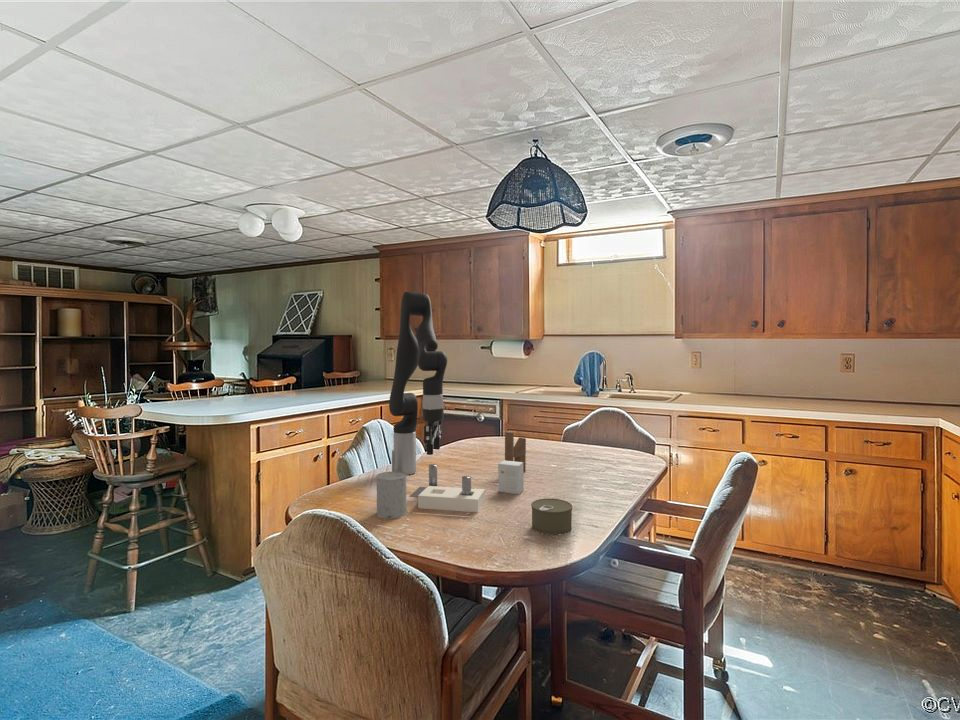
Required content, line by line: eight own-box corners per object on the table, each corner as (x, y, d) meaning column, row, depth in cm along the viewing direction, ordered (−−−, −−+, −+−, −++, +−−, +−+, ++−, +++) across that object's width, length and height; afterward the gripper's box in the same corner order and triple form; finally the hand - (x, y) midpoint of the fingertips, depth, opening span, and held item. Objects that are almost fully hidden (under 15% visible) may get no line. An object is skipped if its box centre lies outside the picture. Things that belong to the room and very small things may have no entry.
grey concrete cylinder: (392, 521, 152) (392, 481, 151) (370, 515, 157) (369, 476, 156) (413, 511, 160) (412, 474, 159) (390, 506, 165) (390, 469, 164)
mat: (409, 497, 174) (409, 496, 174) (419, 487, 186) (419, 486, 186) (447, 500, 171) (447, 499, 171) (456, 490, 183) (456, 489, 183)
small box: (523, 490, 182) (524, 462, 182) (518, 494, 177) (518, 465, 177) (503, 487, 186) (503, 459, 185) (498, 491, 181) (498, 463, 180)
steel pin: (427, 493, 177) (427, 466, 177) (430, 491, 180) (430, 464, 180) (435, 494, 177) (435, 466, 176) (438, 491, 179) (438, 464, 179)
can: (579, 527, 147) (580, 504, 147) (557, 539, 138) (558, 515, 138) (545, 517, 155) (546, 495, 155) (523, 528, 146) (523, 505, 146)
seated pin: (461, 507, 163) (461, 477, 163) (463, 504, 166) (463, 475, 166) (470, 508, 163) (470, 478, 162) (472, 505, 166) (472, 476, 165)
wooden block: (525, 471, 208) (526, 429, 207) (509, 476, 200) (509, 432, 200) (518, 470, 211) (519, 428, 210) (502, 475, 203) (502, 431, 202)
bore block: (418, 509, 162) (418, 495, 162) (428, 498, 173) (428, 485, 173) (477, 513, 158) (477, 499, 158) (484, 502, 169) (484, 489, 169)
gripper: (428, 404, 185) (429, 447, 185) (416, 409, 171) (417, 456, 171) (448, 404, 183) (448, 448, 184) (437, 409, 169) (437, 456, 170)
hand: (433, 451), depth 178 cm, fingers open, 8 cm apart
